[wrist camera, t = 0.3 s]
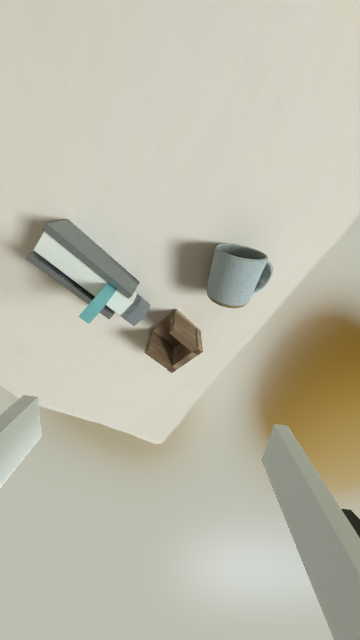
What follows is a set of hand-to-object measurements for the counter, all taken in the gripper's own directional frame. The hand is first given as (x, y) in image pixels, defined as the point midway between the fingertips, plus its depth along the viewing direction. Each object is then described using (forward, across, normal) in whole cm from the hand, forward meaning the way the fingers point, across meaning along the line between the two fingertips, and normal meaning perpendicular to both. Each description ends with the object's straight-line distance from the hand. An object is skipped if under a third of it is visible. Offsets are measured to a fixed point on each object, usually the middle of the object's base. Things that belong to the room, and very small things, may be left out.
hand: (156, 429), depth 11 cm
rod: (+25, -13, +5) cm, 28 cm away
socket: (+29, +1, -5) cm, 30 cm away
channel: (+26, -14, +6) cm, 30 cm away
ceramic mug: (+26, +10, +9) cm, 29 cm away
